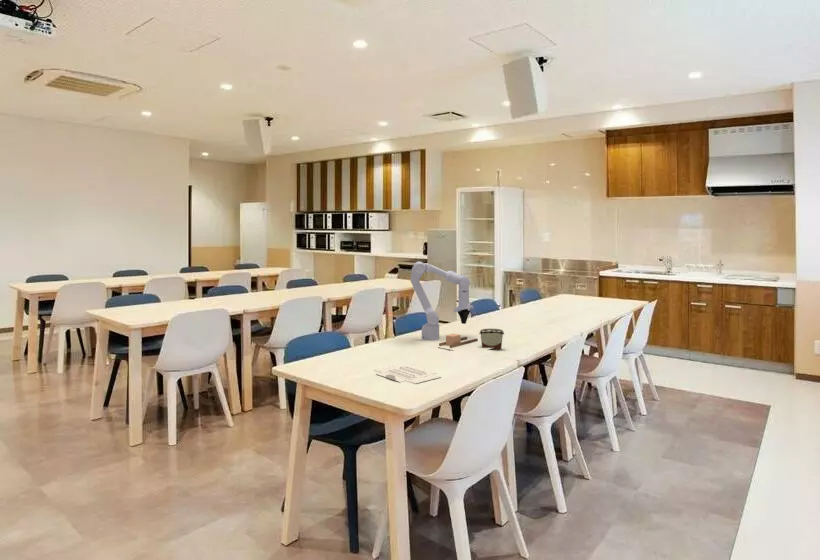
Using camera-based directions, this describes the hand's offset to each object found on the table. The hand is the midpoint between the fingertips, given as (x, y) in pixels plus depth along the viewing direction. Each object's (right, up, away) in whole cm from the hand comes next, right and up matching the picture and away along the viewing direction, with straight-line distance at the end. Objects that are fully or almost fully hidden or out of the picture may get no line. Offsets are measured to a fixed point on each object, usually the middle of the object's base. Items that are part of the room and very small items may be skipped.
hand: (463, 323), depth 291 cm
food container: (+12, -11, -20) cm, 26 cm away
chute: (-4, -11, -12) cm, 16 cm away
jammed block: (-7, -10, -15) cm, 19 cm away
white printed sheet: (-31, -17, -65) cm, 74 cm away
